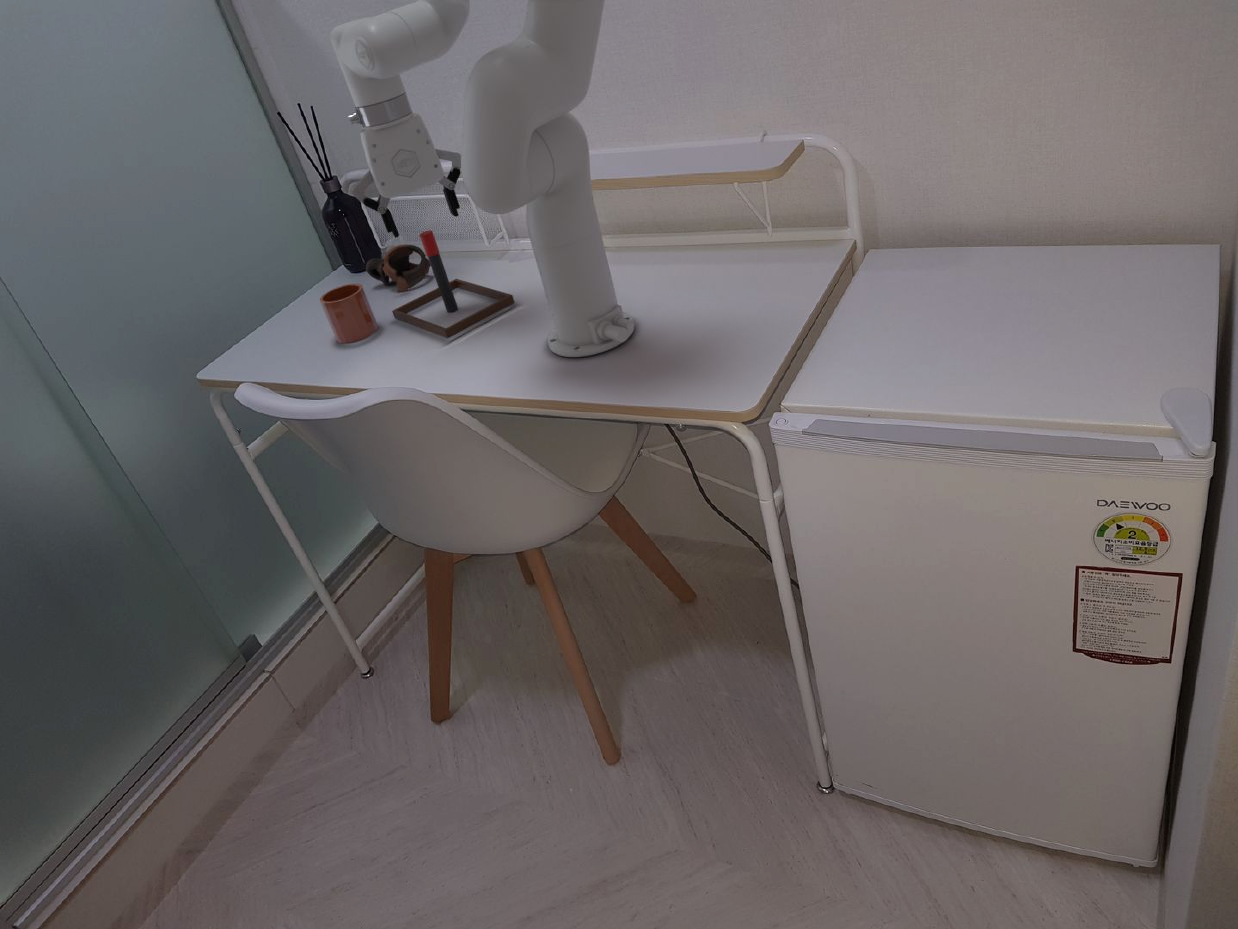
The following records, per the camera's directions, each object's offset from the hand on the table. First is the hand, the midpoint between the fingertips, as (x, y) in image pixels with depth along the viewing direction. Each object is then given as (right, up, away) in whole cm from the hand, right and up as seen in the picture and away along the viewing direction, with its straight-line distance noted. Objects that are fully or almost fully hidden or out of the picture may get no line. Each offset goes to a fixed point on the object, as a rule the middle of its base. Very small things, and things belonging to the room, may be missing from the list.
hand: (425, 224), depth 143 cm
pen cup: (-13, -16, +10) cm, 23 cm away
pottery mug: (-9, -5, +26) cm, 28 cm away
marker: (+3, -12, +8) cm, 15 cm away
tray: (+3, -13, +9) cm, 15 cm away
